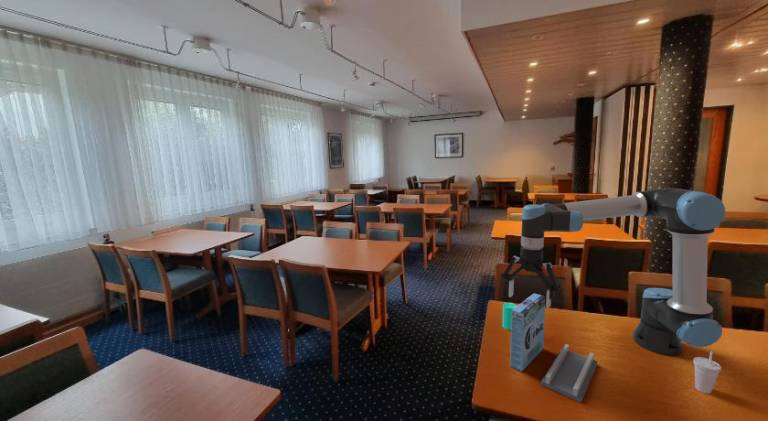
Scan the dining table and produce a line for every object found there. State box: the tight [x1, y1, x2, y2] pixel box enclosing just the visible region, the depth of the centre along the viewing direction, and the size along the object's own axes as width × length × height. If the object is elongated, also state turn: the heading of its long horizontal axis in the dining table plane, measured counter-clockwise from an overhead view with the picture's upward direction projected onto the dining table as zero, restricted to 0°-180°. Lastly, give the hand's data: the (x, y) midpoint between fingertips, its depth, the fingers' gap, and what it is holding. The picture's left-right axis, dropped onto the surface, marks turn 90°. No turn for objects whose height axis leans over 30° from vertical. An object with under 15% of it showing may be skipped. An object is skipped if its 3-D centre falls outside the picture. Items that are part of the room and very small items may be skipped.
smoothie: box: [692, 350, 722, 395], centre depth 102 cm, size 6×6×14 cm
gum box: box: [509, 292, 546, 372], centre depth 121 cm, size 20×5×23 cm, turn 132°
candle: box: [502, 302, 517, 331], centre depth 144 cm, size 6×6×12 cm
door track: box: [540, 343, 598, 403], centre depth 112 cm, size 12×24×4 cm, turn 136°
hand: (528, 301), depth 119 cm, fingers open, 13 cm apart
